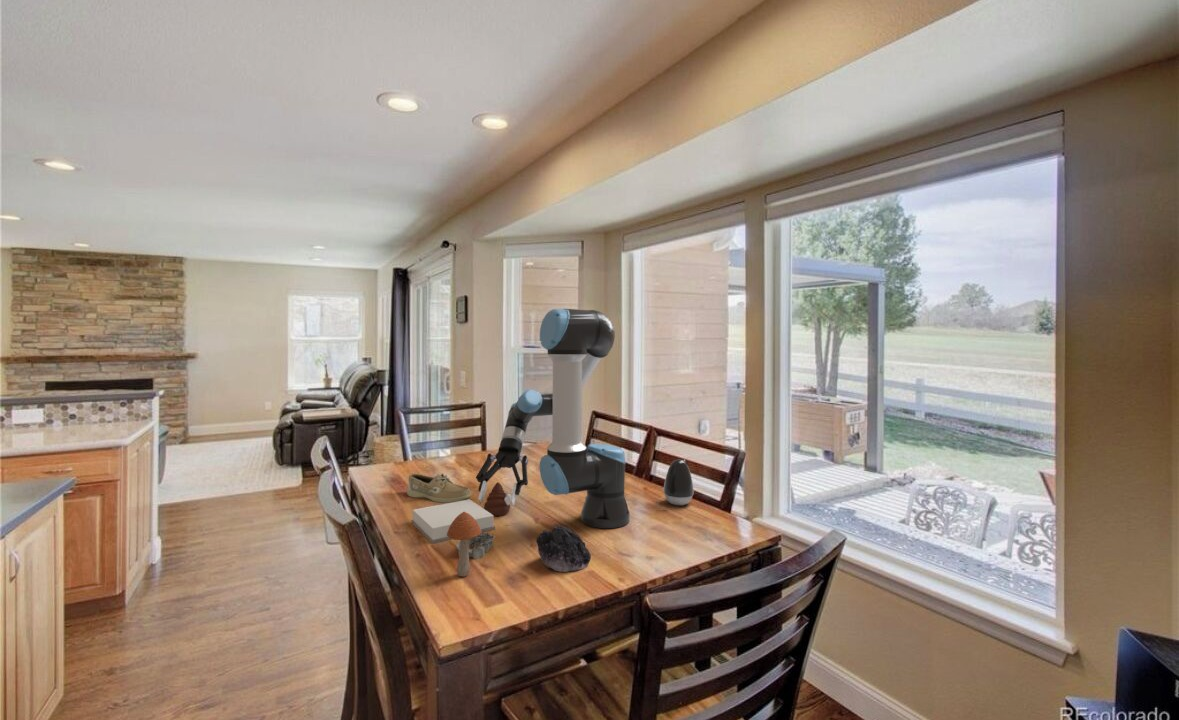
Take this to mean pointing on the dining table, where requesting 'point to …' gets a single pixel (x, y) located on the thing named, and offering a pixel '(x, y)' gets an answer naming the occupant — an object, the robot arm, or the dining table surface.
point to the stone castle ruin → (479, 545)
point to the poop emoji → (498, 501)
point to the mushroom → (463, 538)
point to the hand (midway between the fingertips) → (495, 502)
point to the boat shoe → (436, 488)
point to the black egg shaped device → (678, 483)
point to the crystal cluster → (562, 550)
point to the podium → (449, 518)
